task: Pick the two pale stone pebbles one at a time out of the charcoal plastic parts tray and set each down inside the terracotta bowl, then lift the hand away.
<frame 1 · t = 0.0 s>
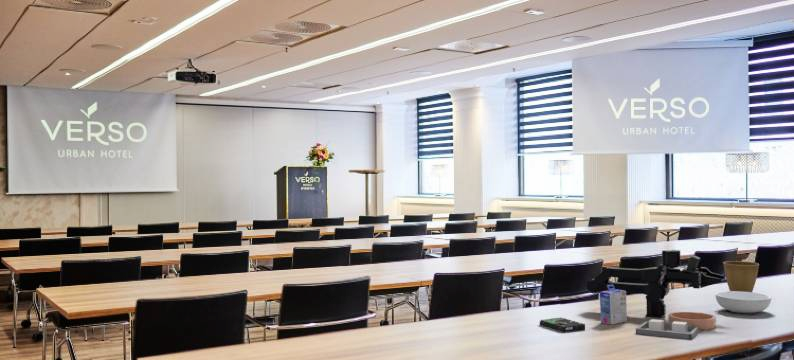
hand: (723, 278, 279), 17 cm above the table, tool horizontal, fingers open, 9 cm apart
parts tray: (667, 332, 261), on the table
pebble a: (656, 331, 264), resting in parts tray
plant pot: (741, 298, 334), on the table
disk drive: (562, 329, 272), on the table
ink cartridge box: (613, 322, 281), on the table
pebble b: (679, 334, 259), resting in parts tray
serving bowl: (743, 312, 300), on the table
bowl: (692, 325, 274), on the table
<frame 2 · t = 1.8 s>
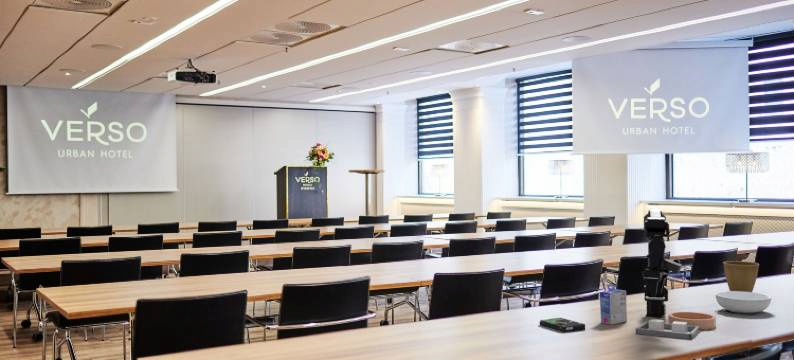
hand: (656, 295, 263), 13 cm above the table, tool pointing down, fingers open, 9 cm apart
nothing on the table moved.
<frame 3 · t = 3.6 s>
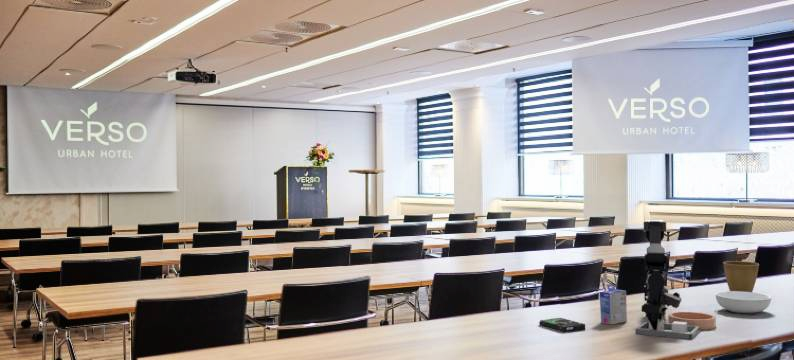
hand: (656, 328, 264), 1 cm above the table, tool pointing down, fingers closed on pebble a, 4 cm apart
pebble a: (656, 331, 264), resting in parts tray, touching gripper
everything else where it was.
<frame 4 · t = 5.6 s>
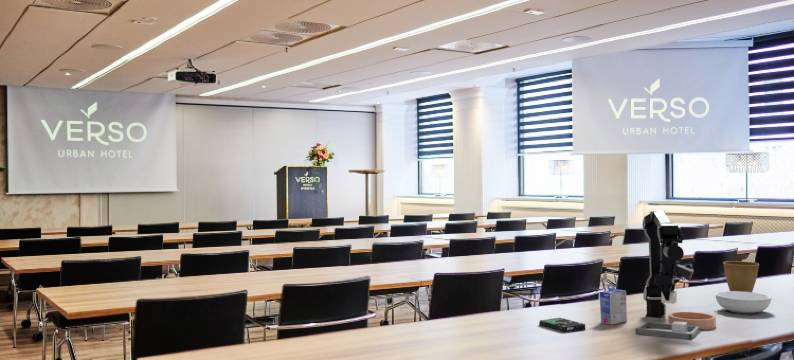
hand: (668, 299, 269), 11 cm above the table, tool pointing down, fingers closed on pebble a, 4 cm apart
pebble a: (669, 302, 269), point 10 cm above the table, touching gripper
everything else where it was.
when the fingers open (3 cm above the table, at t = 8.0 s): pebble a drops 2 cm, resting on bowl.
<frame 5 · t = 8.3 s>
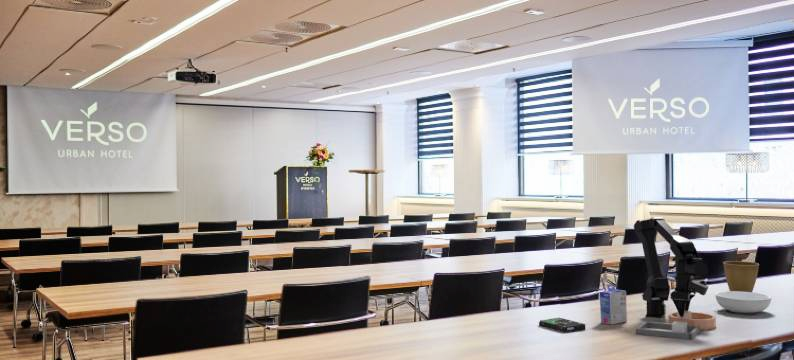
hand: (684, 315, 276), 3 cm above the table, tool pointing down, fingers open, 8 cm apart
pebble a: (684, 322, 276), point 1 cm above the table, touching bowl
everything else where it was.
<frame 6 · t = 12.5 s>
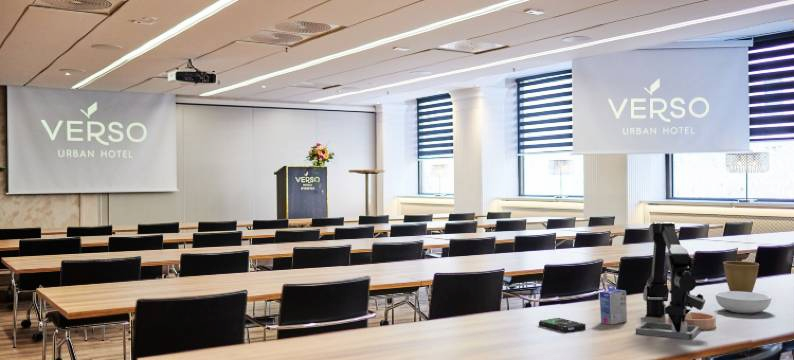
hand: (679, 330, 259), 1 cm above the table, tool pointing down, fingers closed on pebble b, 4 cm apart
pebble b: (679, 333, 259), resting in parts tray, touching gripper
everything else where it was.
when the fingers open (3 cm above the table, at t = 16.8 s): pebble b drops 2 cm, resting on bowl.
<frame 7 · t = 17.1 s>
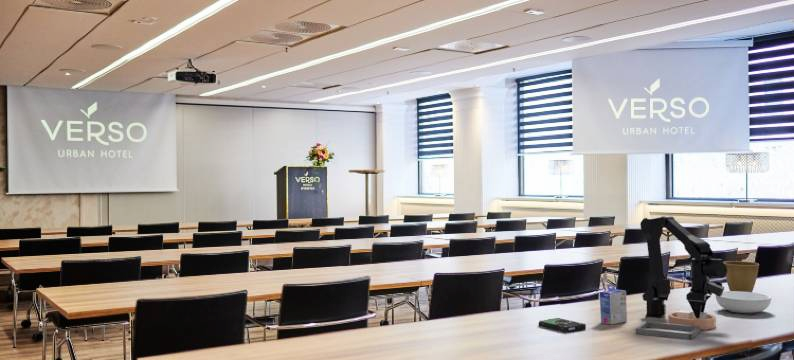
hand: (699, 316, 273), 3 cm above the table, tool pointing down, fingers open, 8 cm apart
pebble b: (699, 323, 273), point 1 cm above the table, touching bowl
everything else where it was.
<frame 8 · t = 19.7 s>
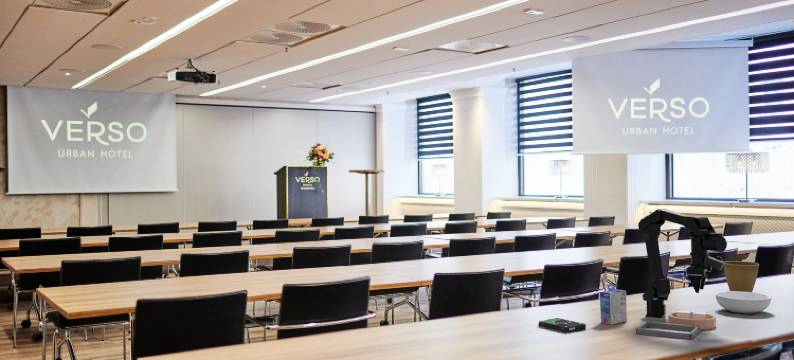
hand: (699, 291, 273), 13 cm above the table, tool pointing down, fingers open, 9 cm apart
nothing on the table moved.
at the end: pebble a inside the target area on the bowl (2.8 cm from its centre), point 0.8 cm above the bowl's base; pebble b inside the target area on the bowl (2.8 cm from its centre), point 0.8 cm above the bowl's base; the gripper is holding nothing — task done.
